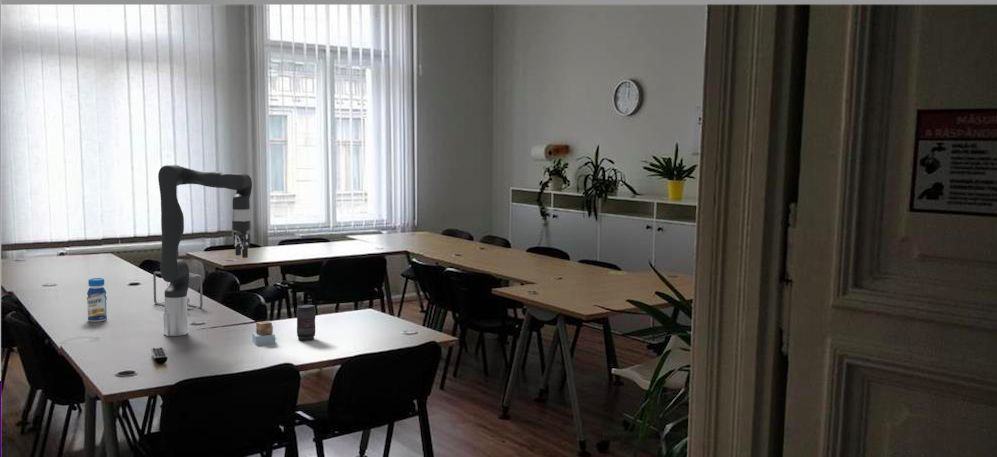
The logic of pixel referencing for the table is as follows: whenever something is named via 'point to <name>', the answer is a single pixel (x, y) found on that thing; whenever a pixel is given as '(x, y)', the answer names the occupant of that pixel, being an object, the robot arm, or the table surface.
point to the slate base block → (263, 339)
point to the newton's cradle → (187, 297)
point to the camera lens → (306, 322)
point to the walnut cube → (264, 328)
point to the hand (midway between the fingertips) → (241, 256)
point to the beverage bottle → (96, 300)
